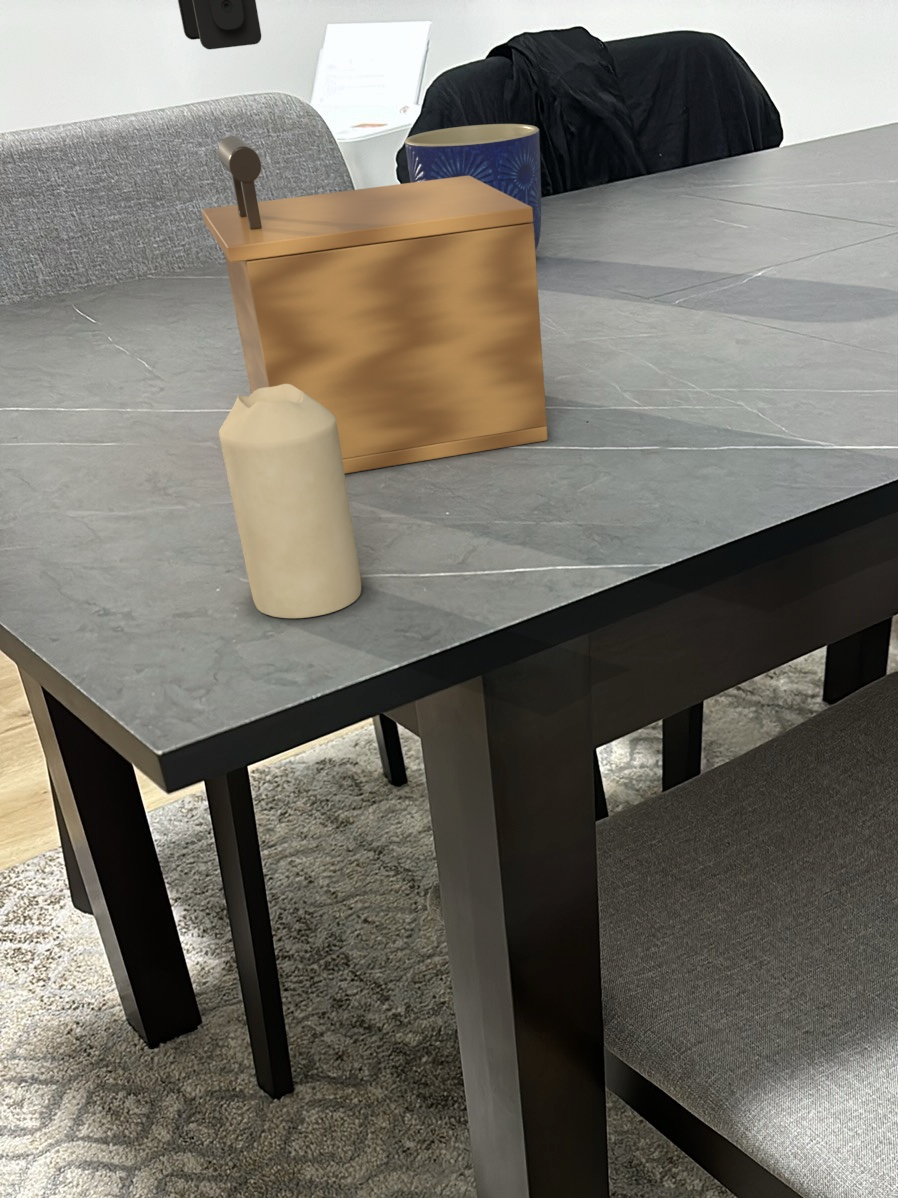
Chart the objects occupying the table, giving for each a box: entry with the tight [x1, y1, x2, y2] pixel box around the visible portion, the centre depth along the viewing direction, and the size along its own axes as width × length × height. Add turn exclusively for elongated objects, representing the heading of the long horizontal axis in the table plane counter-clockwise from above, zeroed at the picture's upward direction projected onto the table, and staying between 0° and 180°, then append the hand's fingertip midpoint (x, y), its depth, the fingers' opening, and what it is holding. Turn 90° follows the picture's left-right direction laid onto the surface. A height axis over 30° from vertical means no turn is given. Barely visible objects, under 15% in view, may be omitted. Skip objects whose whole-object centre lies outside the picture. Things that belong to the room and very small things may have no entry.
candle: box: [218, 384, 362, 619], centre depth 67 cm, size 6×6×10 cm
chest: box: [223, 222, 548, 475], centre depth 89 cm, size 17×15×12 cm
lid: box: [201, 135, 533, 262], centre depth 83 cm, size 18×15×5 cm
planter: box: [404, 123, 542, 252], centre depth 131 cm, size 12×12×11 cm
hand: (222, 41), depth 78 cm, fingers open, 9 cm apart
